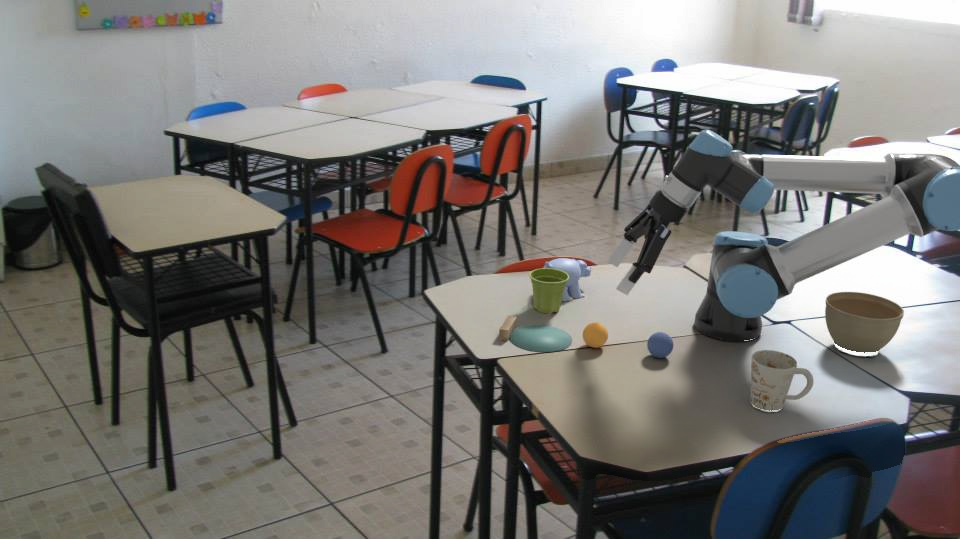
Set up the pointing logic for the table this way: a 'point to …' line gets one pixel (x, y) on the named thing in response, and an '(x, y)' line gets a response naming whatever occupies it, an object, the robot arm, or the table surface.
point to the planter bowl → (862, 320)
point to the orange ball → (595, 335)
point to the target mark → (540, 338)
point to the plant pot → (548, 288)
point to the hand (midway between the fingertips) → (616, 277)
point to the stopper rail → (507, 328)
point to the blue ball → (660, 344)
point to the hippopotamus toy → (570, 275)
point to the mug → (774, 379)
